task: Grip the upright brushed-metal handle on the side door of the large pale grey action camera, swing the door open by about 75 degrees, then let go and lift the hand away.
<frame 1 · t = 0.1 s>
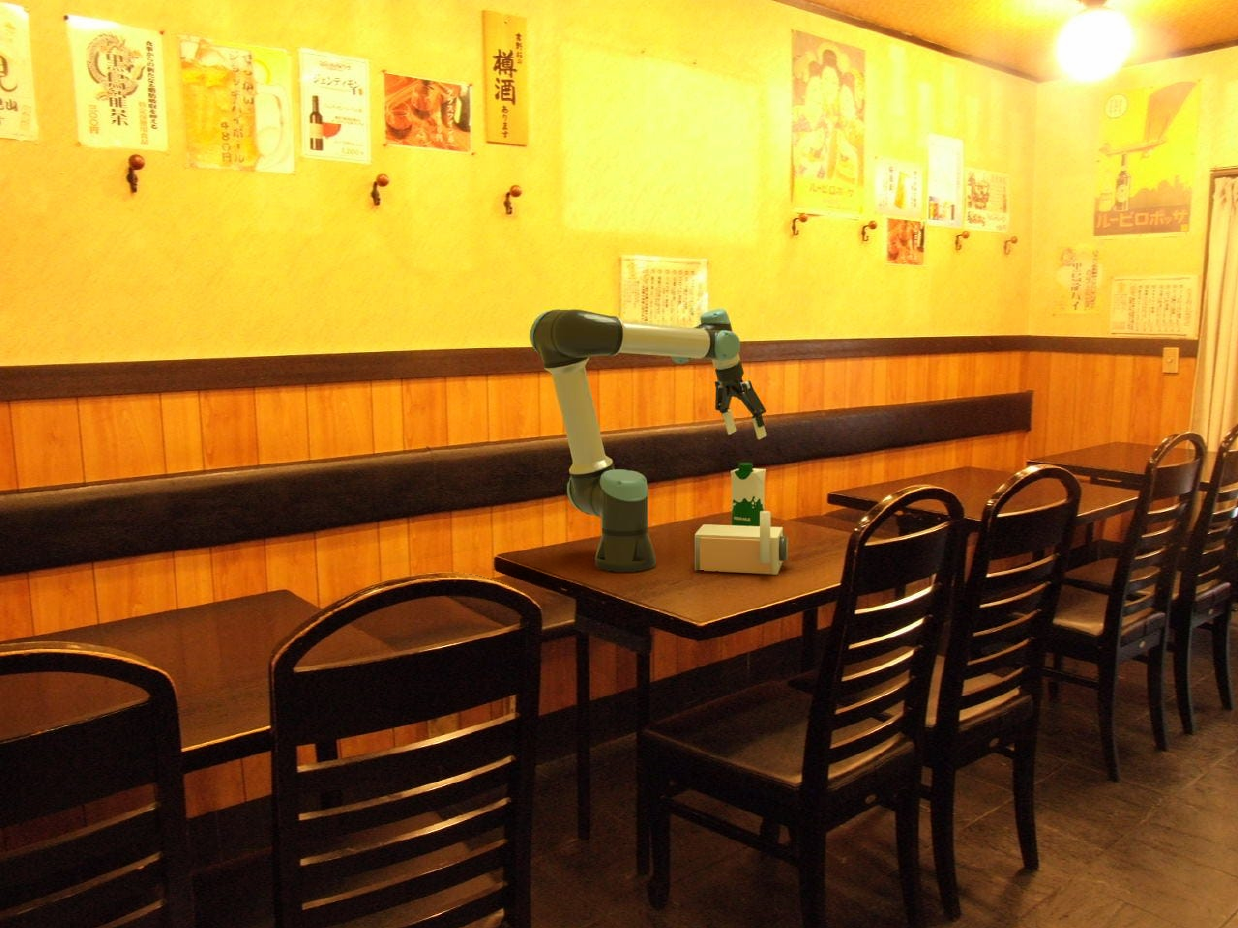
hand: (747, 435, 277), 28 cm above the table, tool tilted 20°, fingers open, 13 cm apart
camera body: (739, 566, 243), on the table
milk carton: (748, 532, 281), on the table
side door: (732, 541, 233), point 8 cm above the table, hinge at 0.0°
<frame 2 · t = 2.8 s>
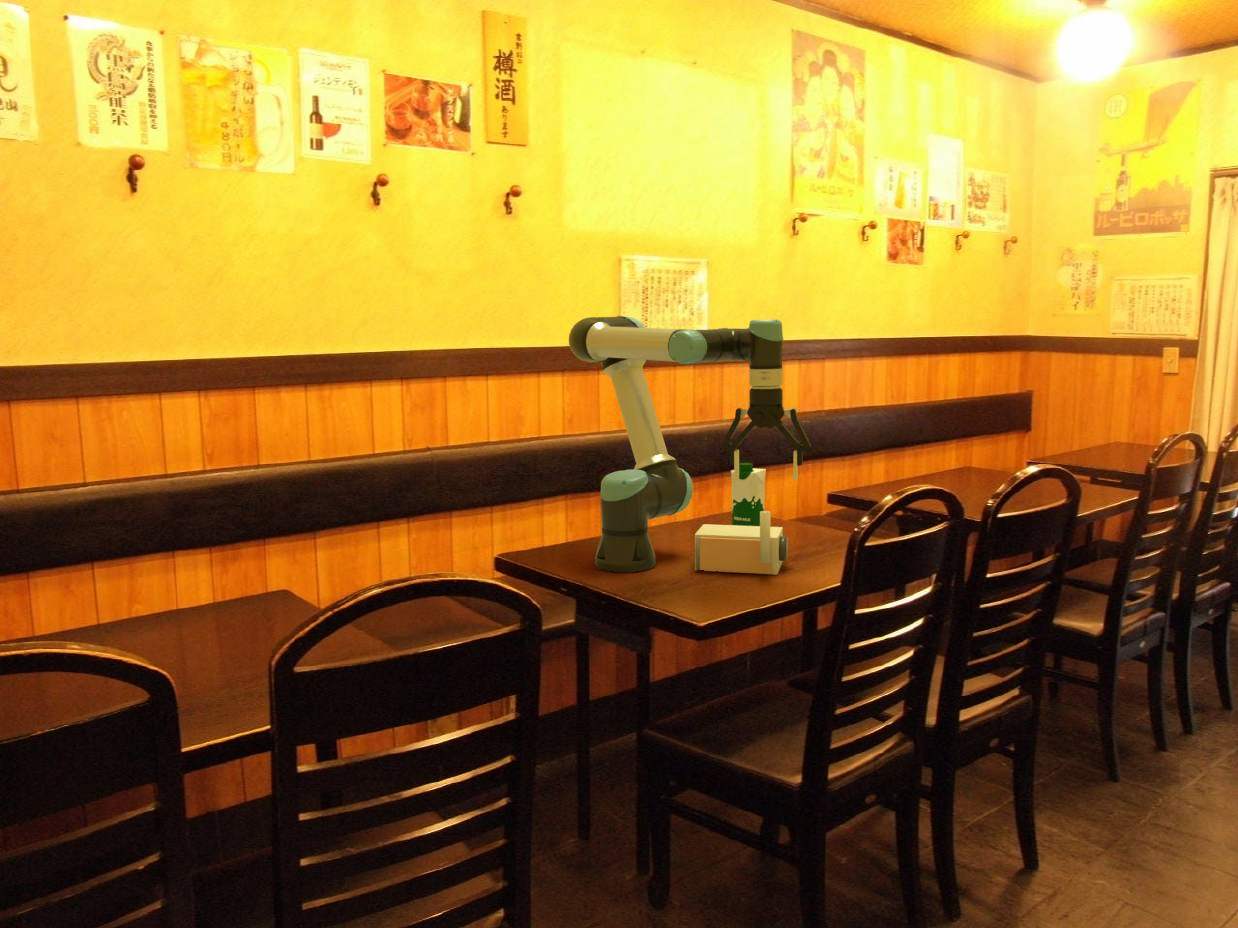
hand: (765, 478, 227), 24 cm above the table, tool pointing down, fingers open, 13 cm apart
nothing on the table moved.
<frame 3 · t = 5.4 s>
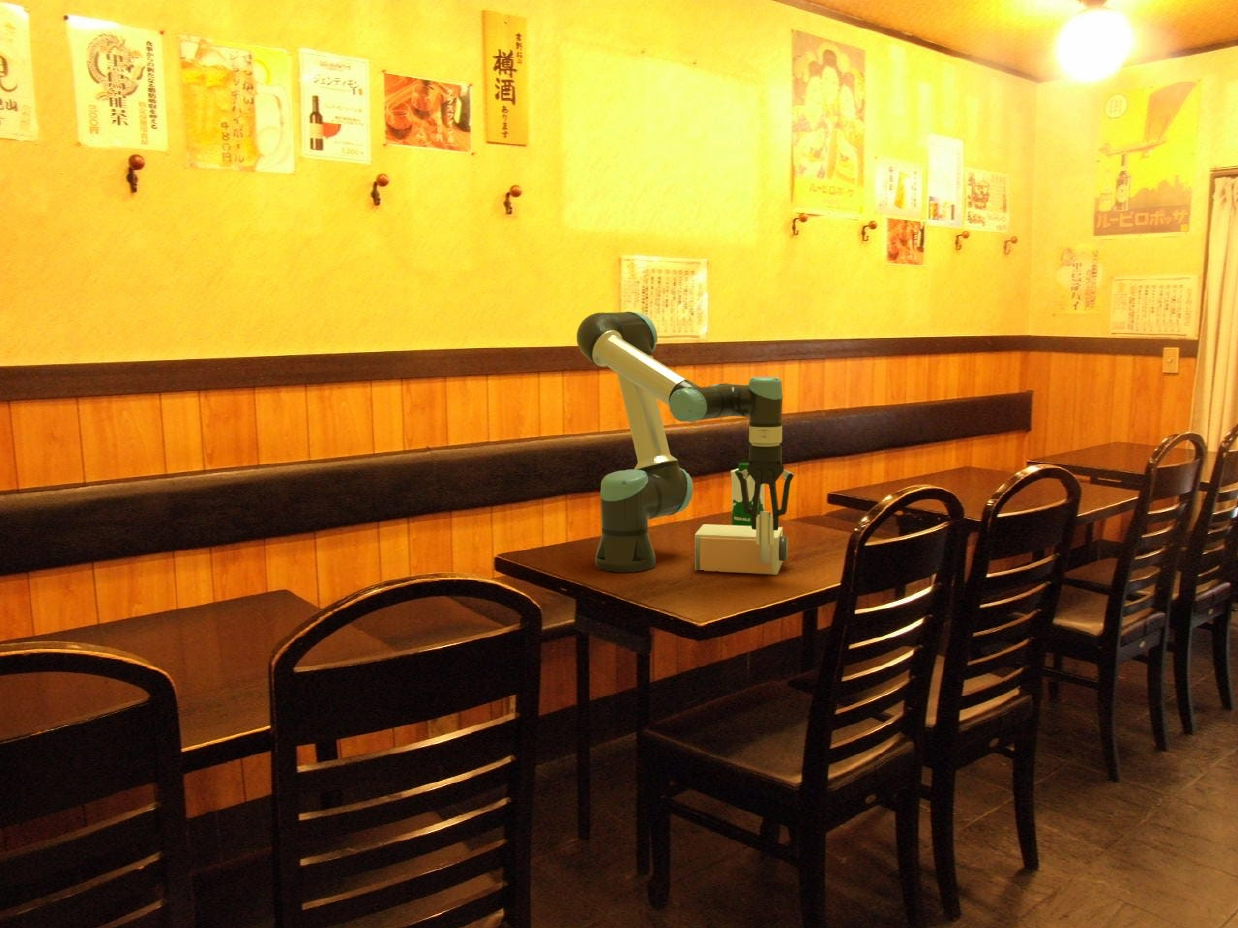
hand: (765, 543, 230), 9 cm above the table, tool pointing down, fingers closed on side door, 2 cm apart
side door: (732, 541, 233), point 8 cm above the table, hinge at 0.0°, touching gripper
everything else where it was.
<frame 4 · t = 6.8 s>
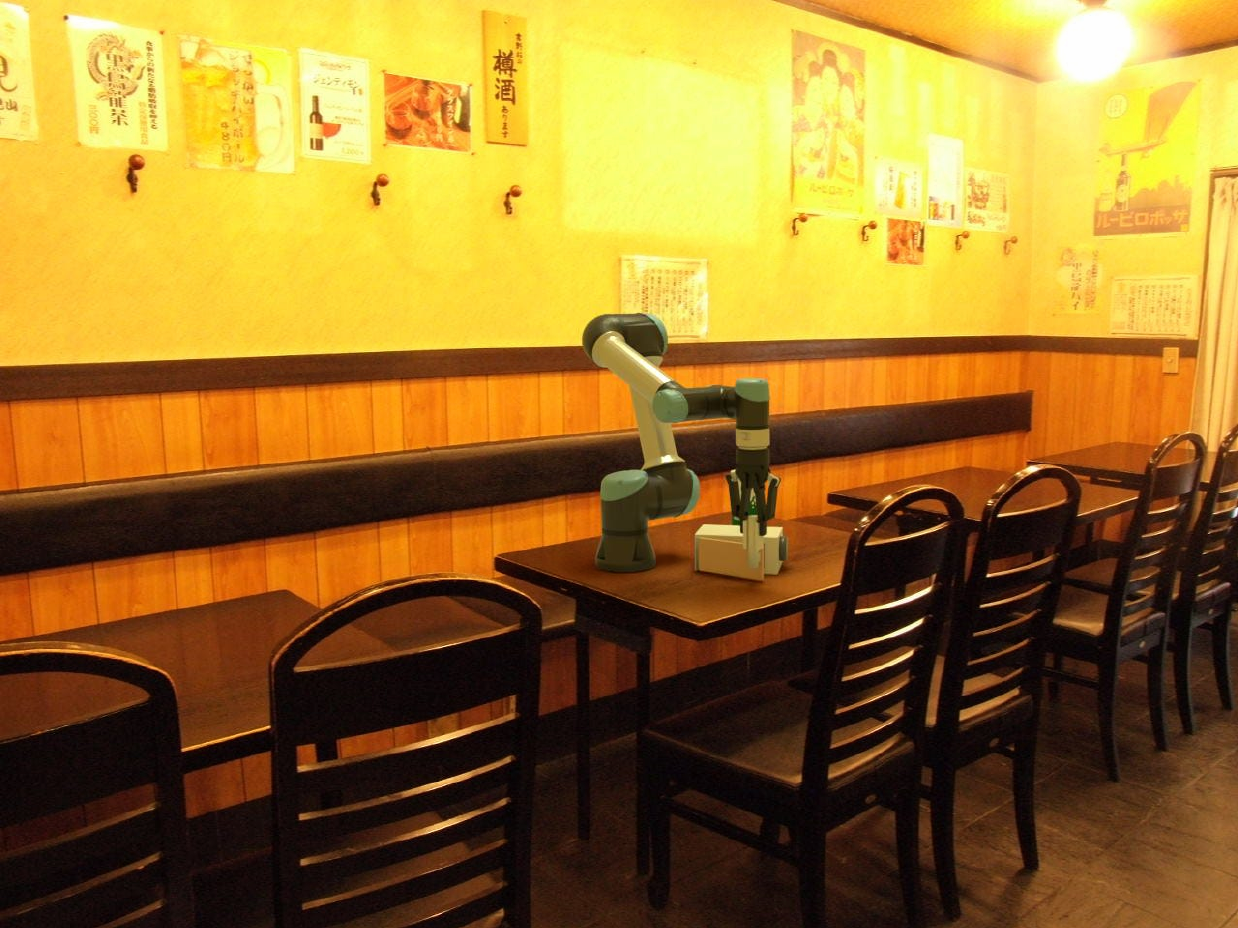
hand: (753, 548, 225), 9 cm above the table, tool pointing down, fingers closed on side door, 2 cm apart
side door: (725, 544, 231), point 8 cm above the table, hinge at 20.2°, touching gripper
everything else where it was.
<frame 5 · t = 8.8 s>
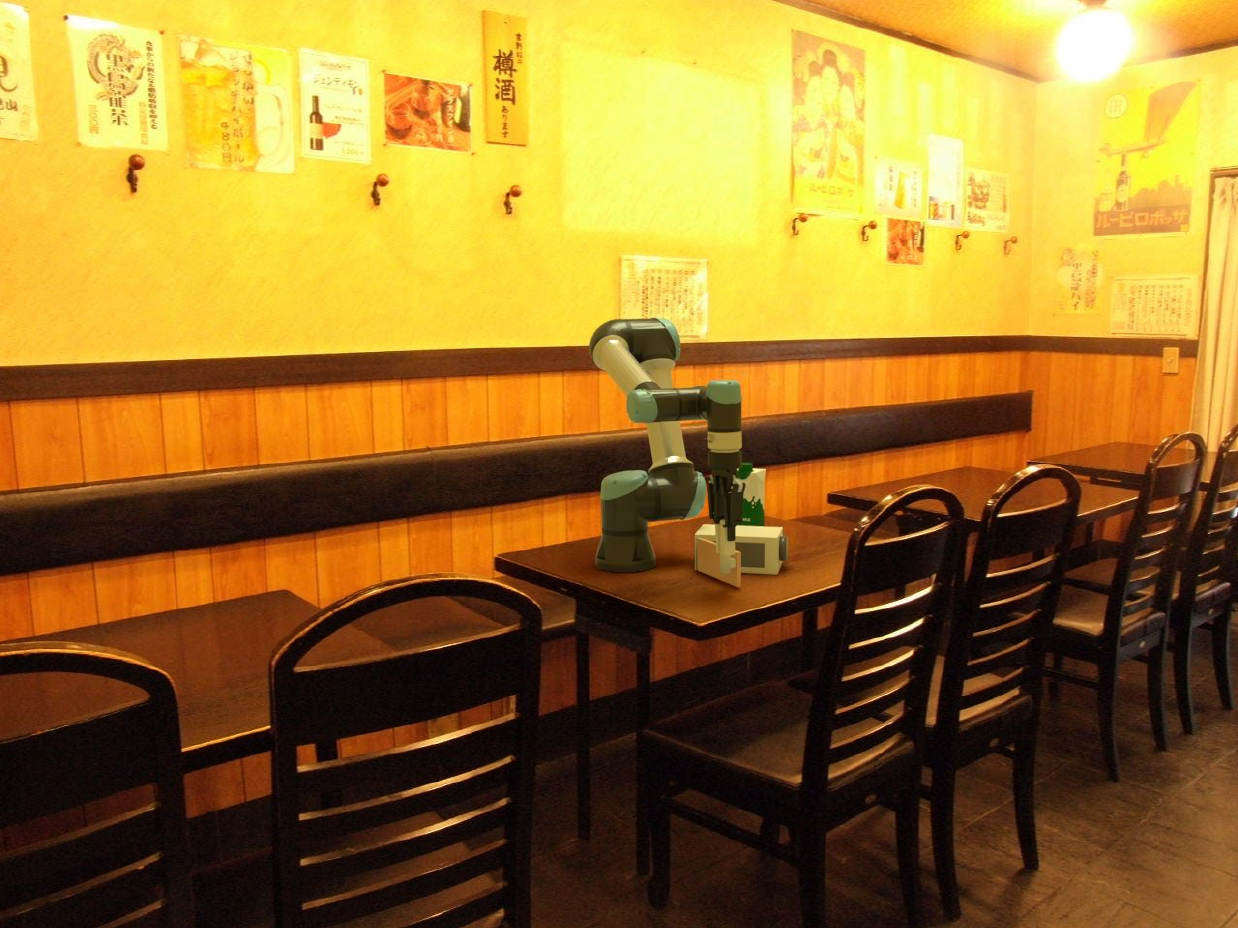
hand: (725, 552, 221), 9 cm above the table, tool pointing down, fingers closed on side door, 2 cm apart
side door: (710, 546, 229), point 8 cm above the table, hinge at 47.7°, touching gripper
everything else where it was.
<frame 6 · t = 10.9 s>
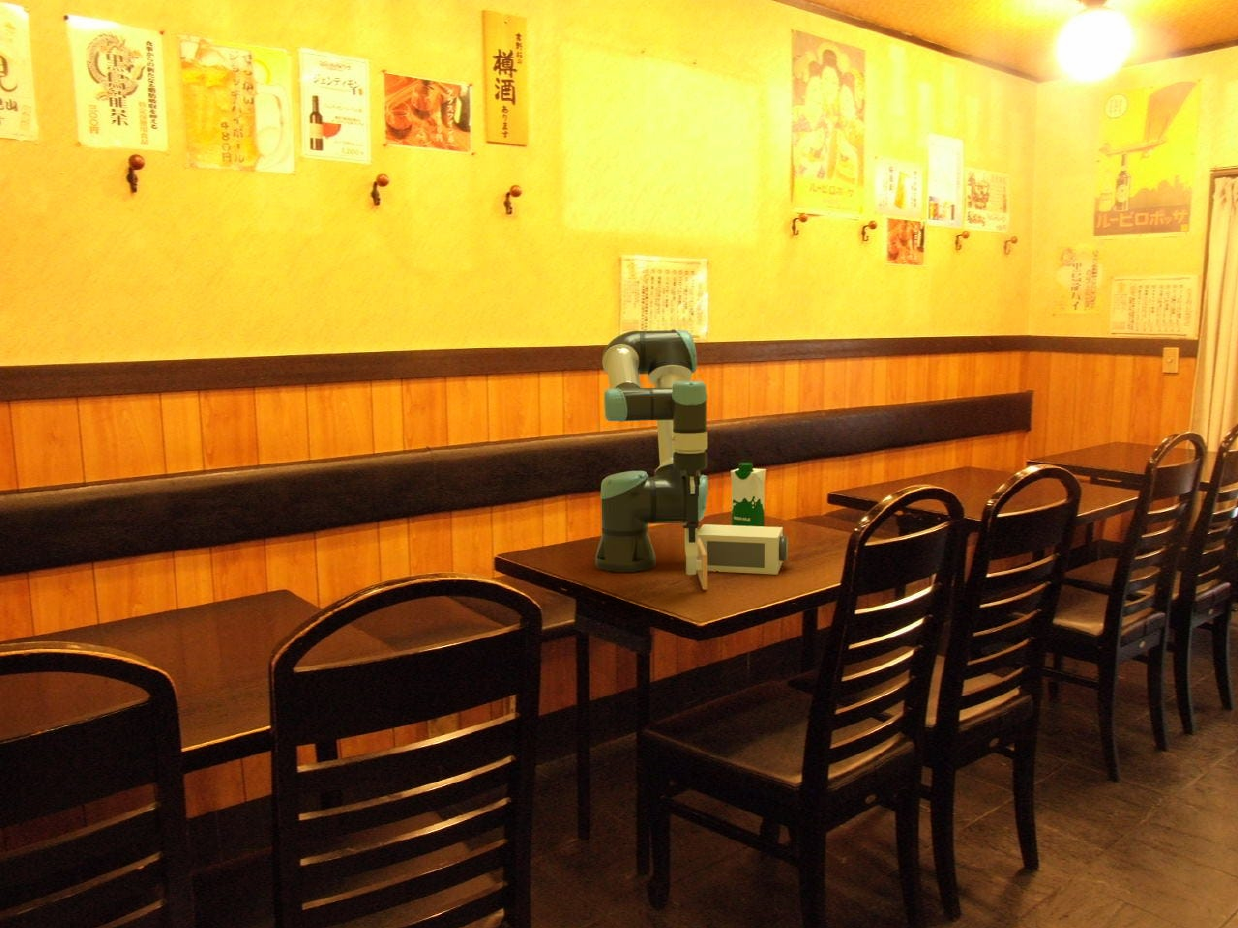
hand: (691, 554, 221), 9 cm above the table, tool pointing down, fingers closed on side door, 2 cm apart
side door: (693, 546, 229), point 8 cm above the table, hinge at 74.5°, touching gripper
everything else where it was.
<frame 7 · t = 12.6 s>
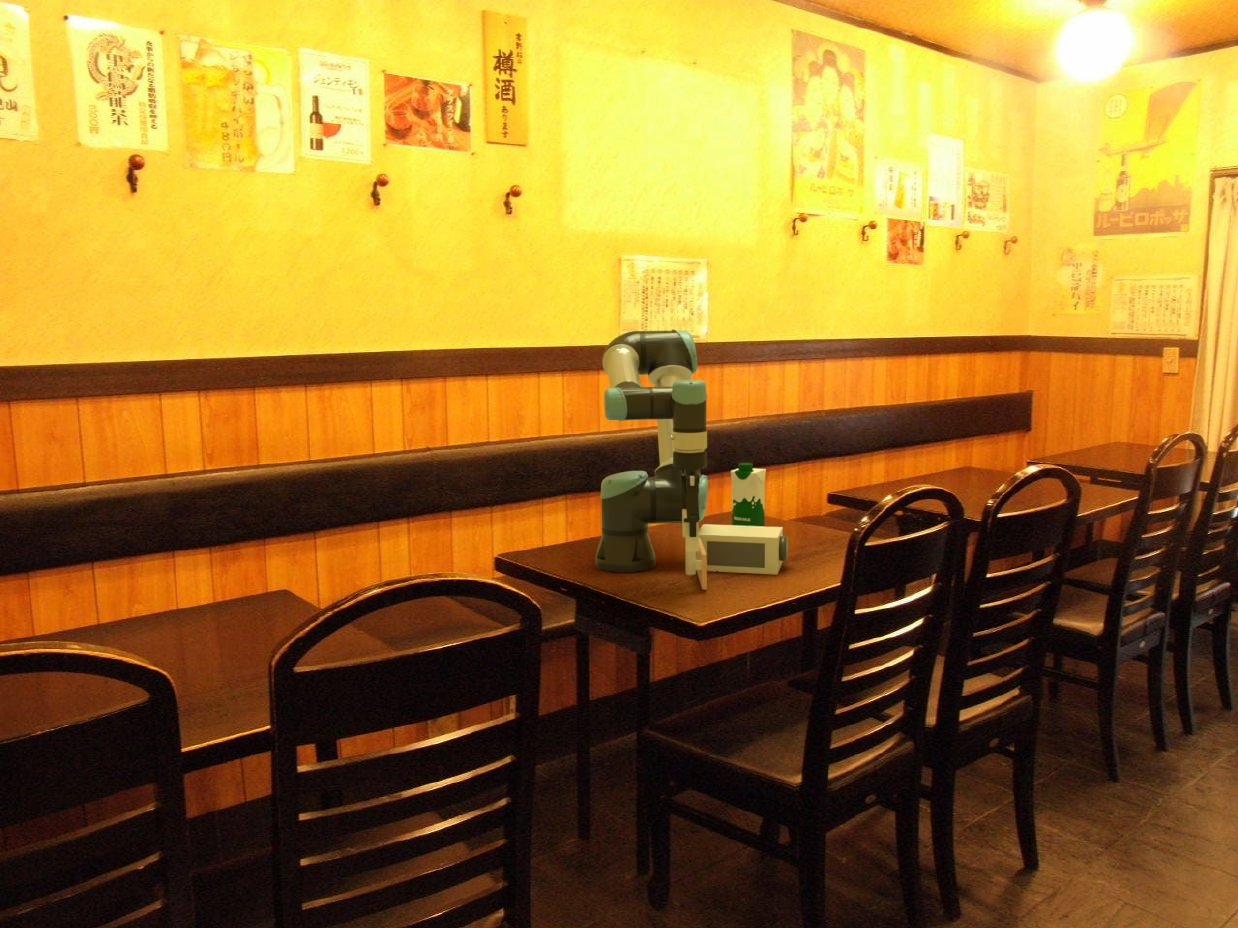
hand: (690, 543, 220), 11 cm above the table, tool pointing down, fingers open, 13 cm apart
side door: (693, 546, 229), point 8 cm above the table, hinge at 74.9°
everything else where it was.
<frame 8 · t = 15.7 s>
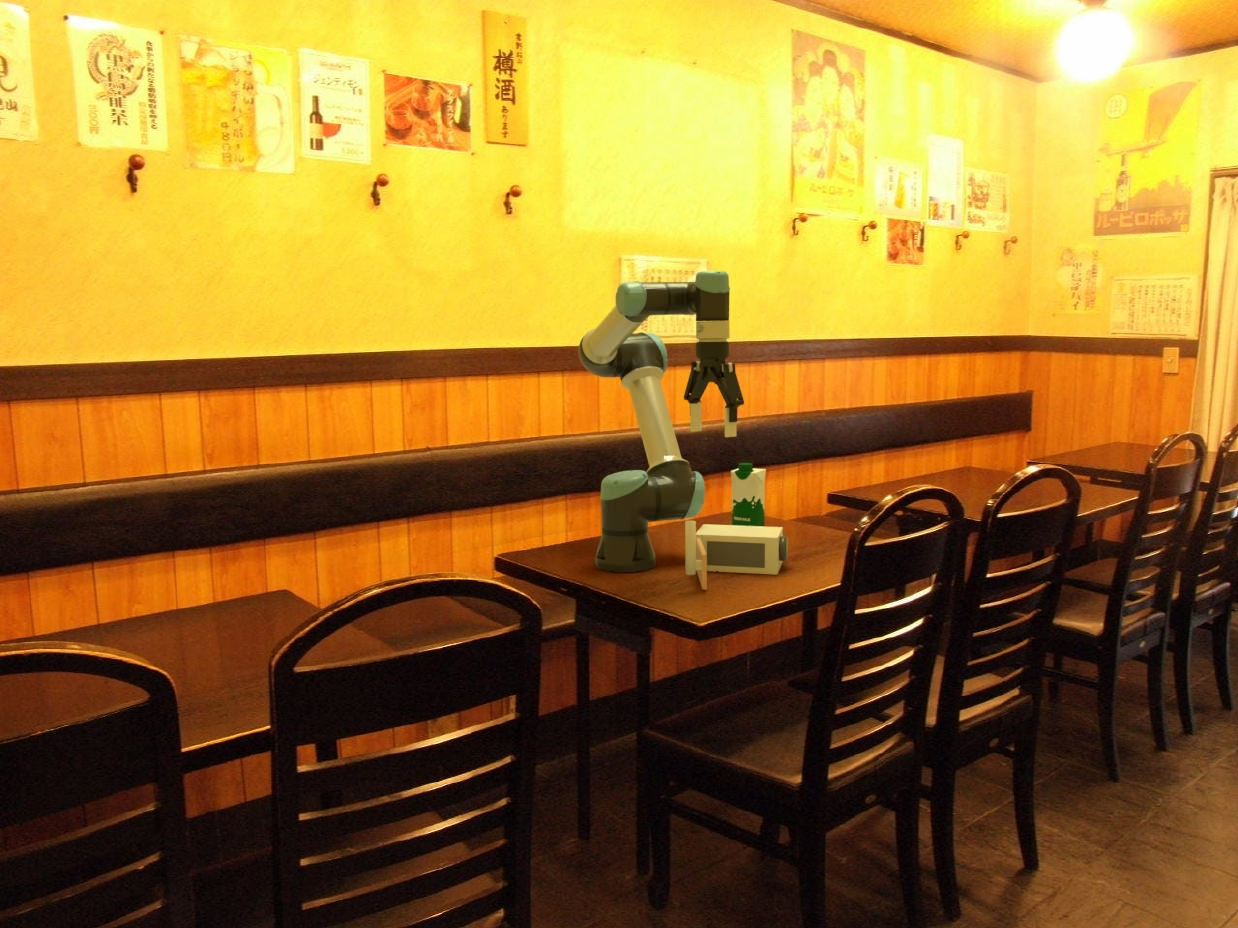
hand: (712, 434, 225), 35 cm above the table, tool pointing down, fingers open, 13 cm apart
nothing on the table moved.
at the end: side door at +75° (first picture: +0°); the gripper is holding nothing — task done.
